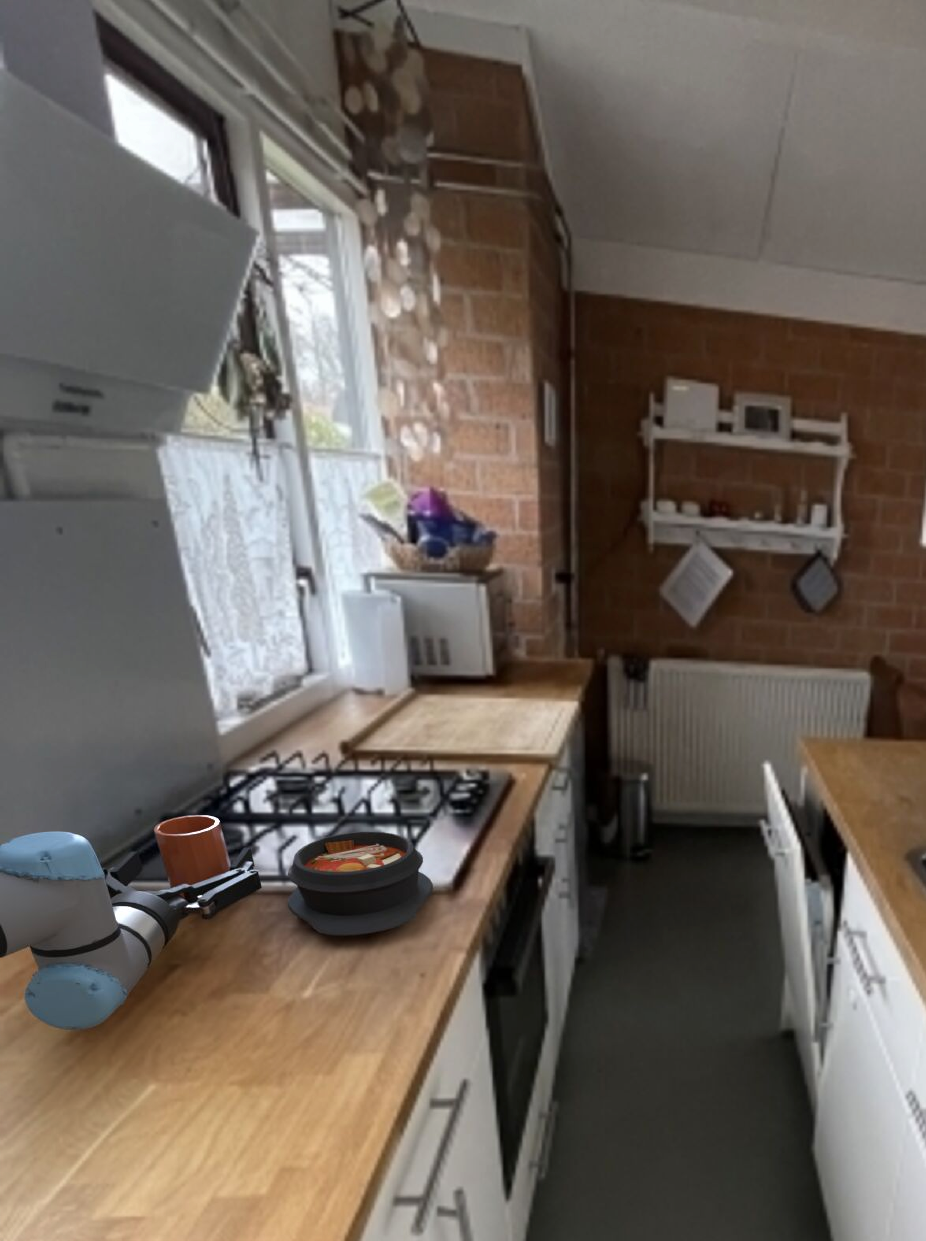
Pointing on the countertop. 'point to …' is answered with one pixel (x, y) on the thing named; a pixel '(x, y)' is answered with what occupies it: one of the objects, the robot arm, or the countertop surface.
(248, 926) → the countertop surface
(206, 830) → the tumbler
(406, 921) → the casserole
